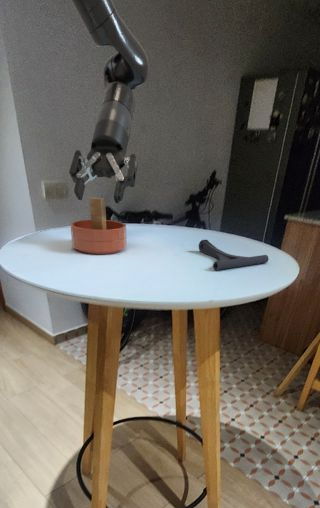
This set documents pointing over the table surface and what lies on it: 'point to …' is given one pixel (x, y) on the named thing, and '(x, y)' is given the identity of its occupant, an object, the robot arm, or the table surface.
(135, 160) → the robot arm
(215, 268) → the dark branching pipe
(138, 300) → the table surface
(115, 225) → the bowl
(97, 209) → the wooden block on stand
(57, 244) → the table surface
